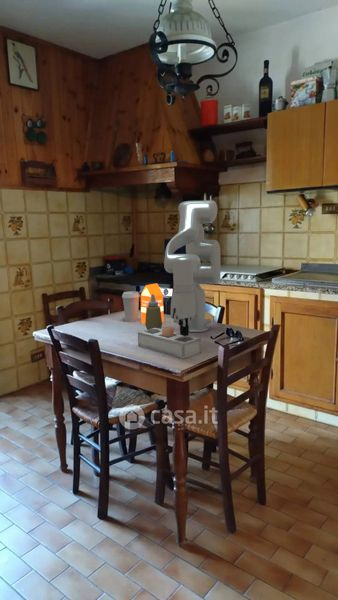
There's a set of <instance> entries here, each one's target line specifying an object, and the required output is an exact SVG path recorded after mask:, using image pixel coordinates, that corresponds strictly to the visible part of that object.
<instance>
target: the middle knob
mask: <svg viewBox="0 0 338 600" xmlns="http://www.w3.org/2000/svg"><path fill="white" fill-rule="evenodd" d="M161 329H162V337H166V338H170V337H173V336H174V332H175V328H174V326H163V327H161Z"/></svg>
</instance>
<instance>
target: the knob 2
mask: <svg viewBox="0 0 338 600" xmlns="http://www.w3.org/2000/svg"><path fill="white" fill-rule="evenodd" d="M178 341H182V342H187V341H190V337H186V336H183V337H179V338H178Z"/></svg>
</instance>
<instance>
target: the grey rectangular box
mask: <svg viewBox="0 0 338 600" xmlns="http://www.w3.org/2000/svg"><path fill="white" fill-rule="evenodd" d="M152 329H158V330H159V332H158V333H155V334H151V333H147V329H145V330H141V331H138V332H137V339H138V340H137V342H138V344H137V346H138V347H140V348H144V349H147V350H151V351H154V352H158V353H160V354H163V355H168V356H171V357H174V358H178V359H180V360H181V359H182V360H186V359H187V358H190V357H194V356H196V355H198V354H201V353H202V352H201V349H202V348H201V342H202V341H201V338H200V337H196V336H192V335H188V336H186V337H190V341H187V342H182V341H178V338H179V337H183V335H180V332H175V331H174V336H173V337H170V338H166V337H162V328H161V329H159V328H152ZM148 330H149V329H148Z"/></svg>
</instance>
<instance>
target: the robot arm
mask: <svg viewBox="0 0 338 600" xmlns="http://www.w3.org/2000/svg"><path fill="white" fill-rule="evenodd" d="M178 214H179V224H178V232H177V233H176V234H175V235H174V236H173V237H172V238H170V240H169V242H168V243H167V245H166V248H165V251H164V261H163V265H164V269H165V271H166V273H169V274H173V293H172V295H171V298H170V318H171V319H173V323H176V324H178V326H179V333H180V335H183V336H190V335H189V334H190V333H203V332H207V331H208V330H209V329H210V328H209V327H210V326H209V325H207V324H209V323H211V322H212V319H211V318H206V292H205V290H204V288H203V287H202V286H201V285H215V284H218V283H219V282H220V281H221V246H220V243H219V241H218V240H216V239H205V228H204V227H203V225H202V224H207V223H208V224H209V223H210V224H211V223H212V224H213V223H214V221H215V220H216V219H217V216H218V215H217V214H218V205H217V202H216V201H215V200H186V201H182V202H181V203H179V204H178ZM184 246H185V253H175V252H176V251H177V250H179V249H181V248H182V247H184ZM201 261H208V262H210V263H205V262H204V263H203V262H201Z"/></svg>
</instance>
